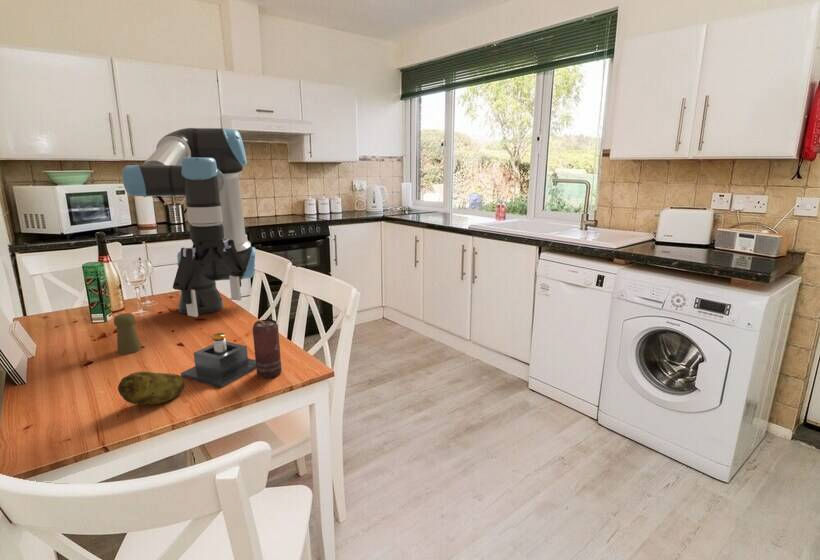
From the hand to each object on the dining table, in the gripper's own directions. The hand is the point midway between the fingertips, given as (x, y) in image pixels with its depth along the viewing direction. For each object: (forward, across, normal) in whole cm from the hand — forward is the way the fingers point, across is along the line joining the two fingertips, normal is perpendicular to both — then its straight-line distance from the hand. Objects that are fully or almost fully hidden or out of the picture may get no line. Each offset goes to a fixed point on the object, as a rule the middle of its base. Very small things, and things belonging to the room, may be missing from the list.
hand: (215, 307), depth 112 cm
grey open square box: (+16, 0, 0) cm, 16 cm away
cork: (+18, +2, -35) cm, 39 cm away
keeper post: (+17, 0, 0) cm, 17 cm away
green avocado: (+17, +18, -1) cm, 25 cm away
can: (+18, -4, +12) cm, 22 cm away
